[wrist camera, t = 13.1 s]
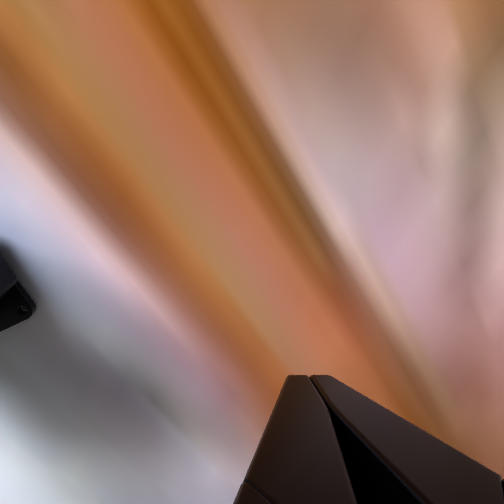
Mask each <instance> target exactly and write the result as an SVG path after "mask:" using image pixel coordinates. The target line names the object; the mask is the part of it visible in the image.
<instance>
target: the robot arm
mask: <svg viewBox="0 0 504 504" xmlns="http://www.w3.org/2000/svg"><path fill="white" fill-rule="evenodd" d="M21 306H24V307H25V308H27V311H24V310H23V309H22V308H21ZM35 311H36V304H35V303H34V301H33V300H32V298H31V297H30V296H29V294H28V293H27V292H26V290H25V289H24V288H23V286H22V285H21V284H20V282H19V281H18V280H17V277H16V275H15V274H14V273H13V271H12V270H11V269H10V267H9V266H8V265H7V263H6V262H5V261H4V259H3V258H2V257H1V255H0V331H3V330H5V329H7V328H9V327H11V326H13V325H16V324H18V323H20V322H22V321H24V320H26V319H28V318H30V317H31V316H32V315H33V314H34V313H35ZM233 504H504V479H503V480H502V478H501V476H500V475H499V474H497V473H495V472H494V471H492V470H490V469H488V468H487V467H485V466H483V465H482V464H480V463H478V462H477V461H475V460H473V459H471V458H470V457H468V456H466V455H465V454H463V453H461V452H460V451H458V450H456V449H454V448H453V447H451V446H449V445H448V444H446V443H444V442H442V441H441V440H439V439H437V438H436V437H434V436H432V435H431V434H429V433H427V432H425V431H424V430H422V429H420V428H419V427H417V426H415V425H414V424H412V423H410V422H408V421H407V420H405V419H403V418H402V417H400V416H398V415H396V414H395V413H393V412H391V411H390V410H388V409H386V408H385V407H383V406H381V405H379V404H378V403H376V402H374V401H373V400H371V399H369V398H368V397H366V396H364V395H362V394H361V393H359V392H357V391H356V390H354V389H352V388H350V387H349V386H347V385H345V384H344V383H342V382H340V381H339V380H337V379H335V378H333V377H332V376H329V375H311V376H310V377H308V376H307V375H288V376H287V378H286V380H285V382H284V385H283V387H282V389H281V392H280V394H279V397H278V399H277V401H276V404H275V406H274V409H273V411H272V413H271V416H270V418H269V421H268V423H267V425H266V428H265V430H264V433H263V435H262V437H261V440H260V442H259V445H258V447H257V449H256V452H255V454H254V457H253V459H252V461H251V464H250V466H249V469H248V471H247V473H246V476H245V478H244V481H243V483H242V484H241V486H240V489H239V491H238V493H237V496H236V498H235V501H234V503H233Z"/></svg>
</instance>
